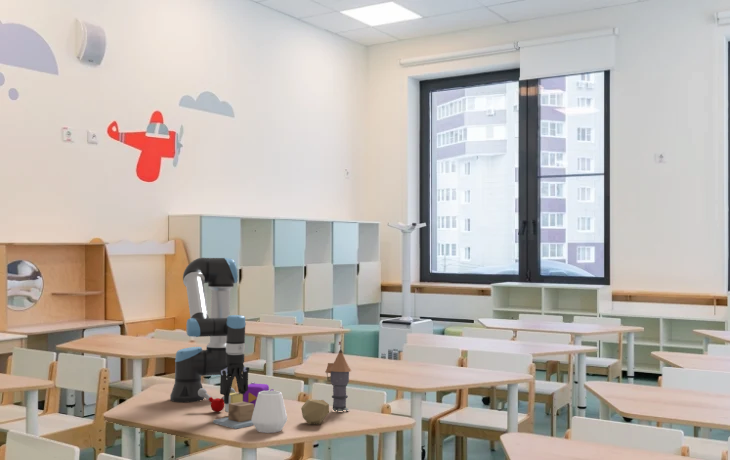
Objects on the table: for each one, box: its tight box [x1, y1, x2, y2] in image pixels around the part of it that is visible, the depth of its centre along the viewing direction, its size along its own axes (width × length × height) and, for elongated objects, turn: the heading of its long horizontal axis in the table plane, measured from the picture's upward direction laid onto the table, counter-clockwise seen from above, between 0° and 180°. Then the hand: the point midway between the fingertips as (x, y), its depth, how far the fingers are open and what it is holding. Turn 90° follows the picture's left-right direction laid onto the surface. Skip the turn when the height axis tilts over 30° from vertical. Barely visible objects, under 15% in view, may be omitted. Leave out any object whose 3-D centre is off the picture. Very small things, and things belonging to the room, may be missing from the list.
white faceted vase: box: [251, 390, 288, 434], centre depth 265 cm, size 13×13×14 cm
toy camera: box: [243, 381, 275, 407], centre depth 307 cm, size 11×14×10 cm
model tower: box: [324, 341, 352, 411], centre depth 302 cm, size 10×11×30 cm
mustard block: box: [224, 392, 243, 414], centre depth 288 cm, size 5×5×7 cm
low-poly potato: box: [300, 398, 330, 425], centre depth 277 cm, size 15×11×12 cm
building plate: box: [212, 416, 254, 430], centre depth 276 cm, size 14×16×1 cm
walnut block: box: [227, 402, 254, 422], centre depth 276 cm, size 7×7×6 cm
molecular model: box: [198, 387, 236, 413], centre depth 295 cm, size 18×6×10 cm, turn 68°
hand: (233, 410), depth 288 cm, fingers closed on mustard block, 5 cm apart
